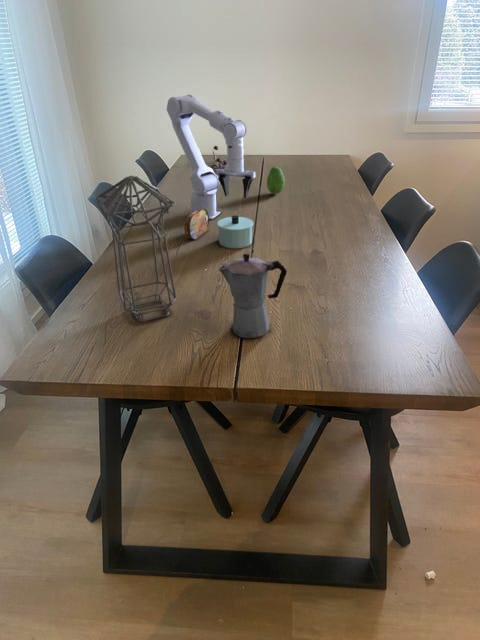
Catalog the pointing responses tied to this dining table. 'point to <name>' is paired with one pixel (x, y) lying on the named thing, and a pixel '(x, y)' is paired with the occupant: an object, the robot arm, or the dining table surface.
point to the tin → (196, 223)
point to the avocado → (275, 180)
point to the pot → (235, 238)
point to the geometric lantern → (167, 204)
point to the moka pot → (250, 293)
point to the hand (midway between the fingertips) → (236, 196)
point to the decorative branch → (218, 160)
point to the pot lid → (235, 223)
